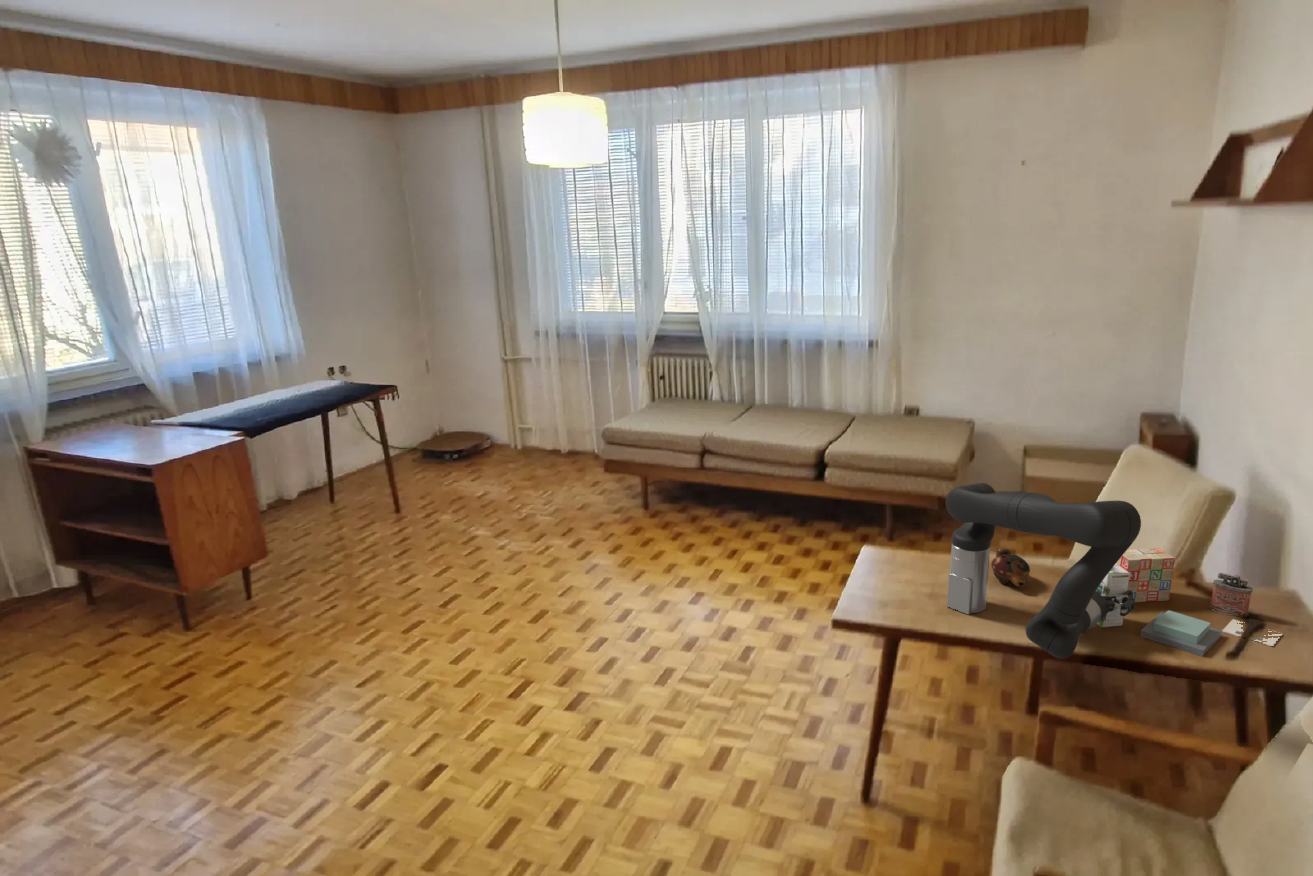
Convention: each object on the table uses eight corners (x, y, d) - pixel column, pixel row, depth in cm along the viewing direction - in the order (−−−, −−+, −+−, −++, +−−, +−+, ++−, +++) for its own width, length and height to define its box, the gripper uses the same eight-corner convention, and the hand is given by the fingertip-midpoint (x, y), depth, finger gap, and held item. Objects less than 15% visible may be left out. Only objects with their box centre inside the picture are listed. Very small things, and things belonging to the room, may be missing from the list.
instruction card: (1272, 647, 186) (1272, 645, 186) (1222, 631, 194) (1222, 630, 194) (1282, 634, 191) (1282, 633, 191) (1232, 620, 199) (1232, 618, 199)
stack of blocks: (1089, 606, 209) (1094, 562, 206) (1075, 595, 215) (1080, 552, 212) (1169, 600, 210) (1175, 557, 207) (1153, 589, 216) (1159, 547, 213)
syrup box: (1086, 616, 203) (1093, 563, 199) (1109, 615, 204) (1115, 562, 200) (1100, 628, 198) (1107, 573, 194) (1123, 626, 198) (1130, 572, 194)
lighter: (1249, 614, 201) (1255, 577, 199) (1246, 619, 199) (1253, 582, 196) (1210, 604, 207) (1216, 569, 204) (1208, 609, 204) (1213, 573, 202)
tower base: (1202, 656, 184) (1204, 642, 183) (1140, 635, 194) (1141, 622, 193) (1221, 636, 192) (1223, 623, 191) (1160, 617, 202) (1162, 604, 201)
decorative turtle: (1011, 568, 232) (1015, 543, 229) (1039, 595, 217) (1044, 568, 215) (978, 569, 231) (983, 543, 228) (1004, 596, 217) (1009, 569, 214)
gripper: (1117, 606, 183) (1145, 583, 193) (1054, 586, 194) (1083, 566, 204) (1114, 636, 185) (1141, 612, 195) (1051, 614, 196) (1080, 593, 206)
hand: (1112, 588), depth 200 cm, fingers closed on syrup box, 7 cm apart
